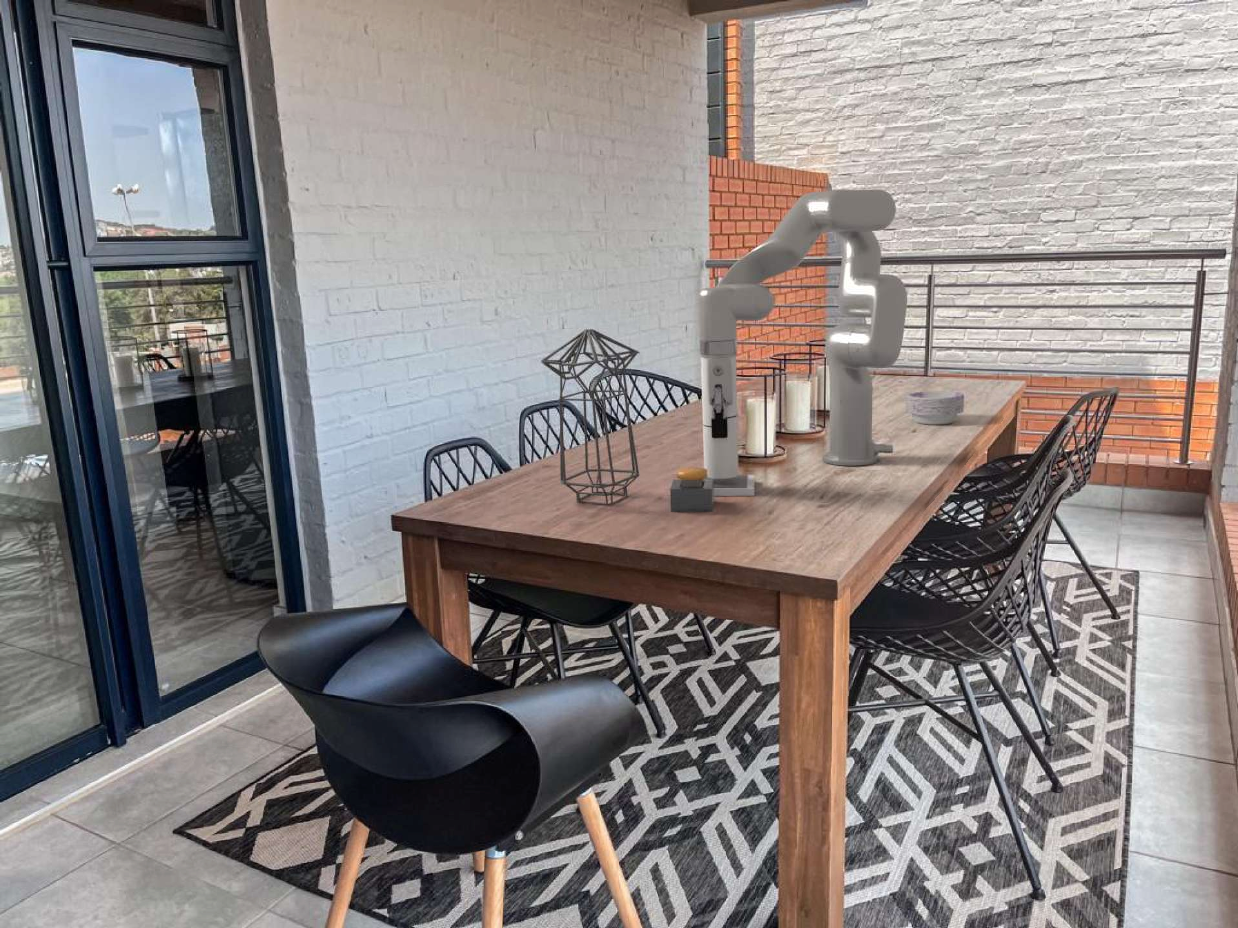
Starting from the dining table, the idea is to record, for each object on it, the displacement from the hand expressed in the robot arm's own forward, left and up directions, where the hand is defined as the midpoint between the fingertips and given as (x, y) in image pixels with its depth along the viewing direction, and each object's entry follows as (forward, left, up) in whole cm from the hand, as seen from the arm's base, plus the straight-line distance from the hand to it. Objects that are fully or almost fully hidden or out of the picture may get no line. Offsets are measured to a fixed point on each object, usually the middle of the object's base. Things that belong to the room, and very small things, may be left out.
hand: (720, 433), depth 200 cm
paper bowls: (-56, -74, -12) cm, 93 cm away
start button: (+5, +14, -10) cm, 18 cm away
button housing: (+5, +14, -12) cm, 19 cm away
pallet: (0, 0, -12) cm, 12 cm away
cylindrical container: (0, 0, -9) cm, 9 cm away
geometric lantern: (+25, +8, -12) cm, 29 cm away
